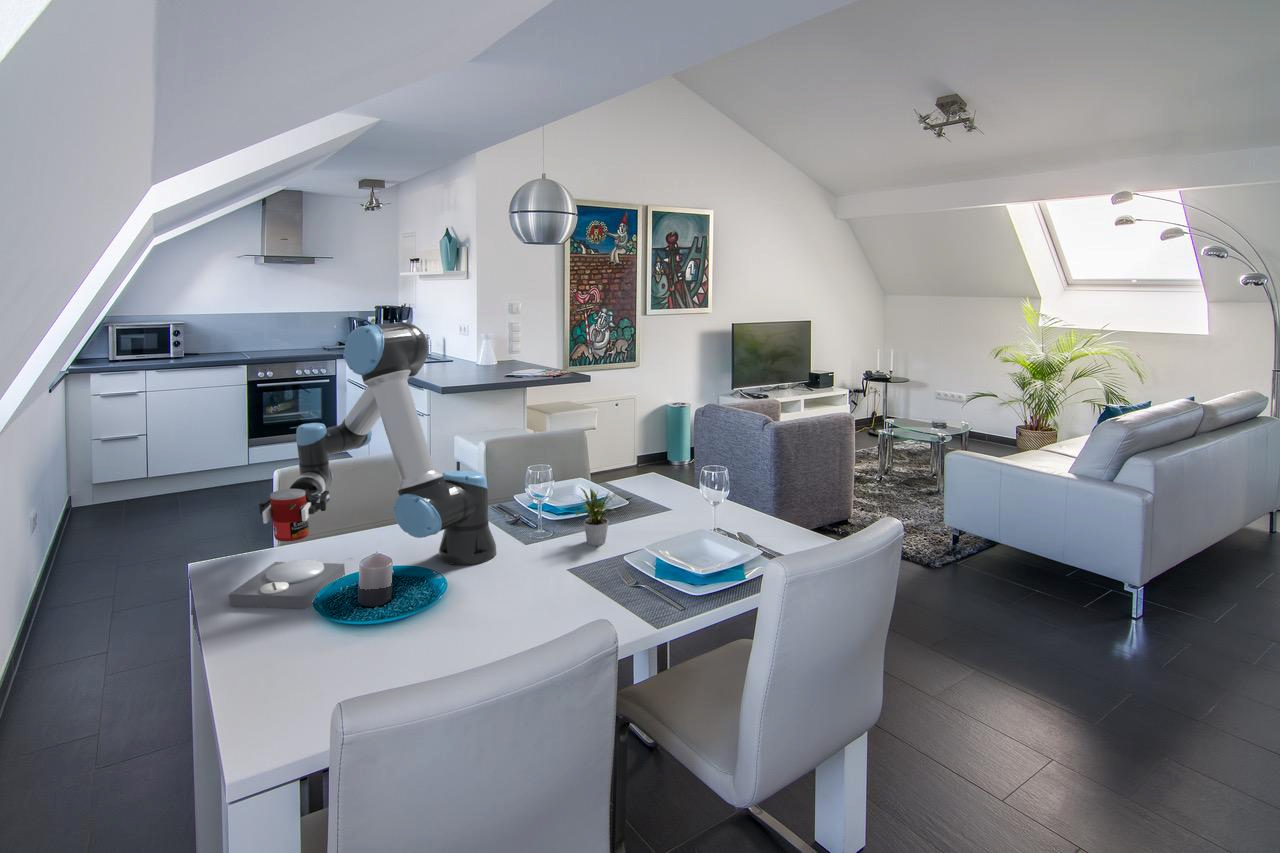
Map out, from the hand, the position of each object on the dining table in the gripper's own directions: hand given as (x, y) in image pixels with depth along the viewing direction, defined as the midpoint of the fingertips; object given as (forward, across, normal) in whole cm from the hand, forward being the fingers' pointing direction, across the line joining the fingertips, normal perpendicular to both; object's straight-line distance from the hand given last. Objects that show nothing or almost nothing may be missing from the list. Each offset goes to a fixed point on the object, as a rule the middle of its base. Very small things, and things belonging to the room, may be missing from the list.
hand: (284, 516), depth 181 cm
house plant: (-22, -75, -19) cm, 81 cm away
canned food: (-5, 0, -7) cm, 8 cm away
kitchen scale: (-2, +1, -19) cm, 19 cm away
